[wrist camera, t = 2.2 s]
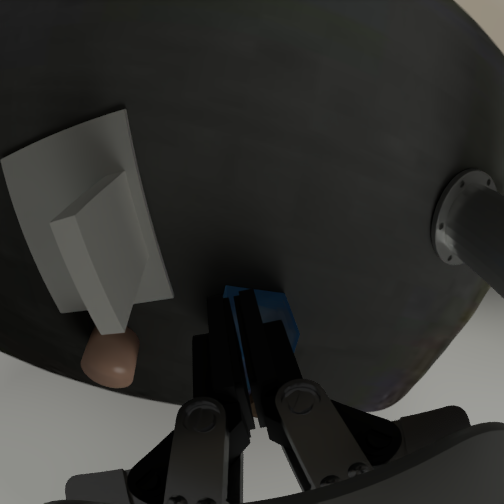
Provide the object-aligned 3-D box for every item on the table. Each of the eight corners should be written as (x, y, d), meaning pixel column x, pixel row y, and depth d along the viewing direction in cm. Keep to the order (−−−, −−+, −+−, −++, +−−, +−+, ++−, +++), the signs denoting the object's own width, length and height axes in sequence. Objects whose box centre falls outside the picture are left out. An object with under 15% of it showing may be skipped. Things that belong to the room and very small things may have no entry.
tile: (125, 170, 22) (74, 215, 13) (148, 255, 25) (124, 332, 17) (103, 176, 21) (46, 223, 13) (129, 259, 25) (98, 335, 17)
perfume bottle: (214, 330, 31) (220, 425, 21) (225, 285, 29) (236, 384, 18) (267, 335, 33) (290, 425, 22) (284, 293, 30) (318, 385, 20)
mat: (126, 109, 20) (124, 109, 19) (174, 294, 28) (173, 297, 28) (3, 158, 19) (0, 159, 18) (62, 310, 28) (61, 313, 27)
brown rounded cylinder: (128, 318, 29) (119, 352, 25) (146, 354, 32) (141, 387, 28) (84, 322, 29) (71, 354, 25) (104, 357, 32) (96, 387, 28)
